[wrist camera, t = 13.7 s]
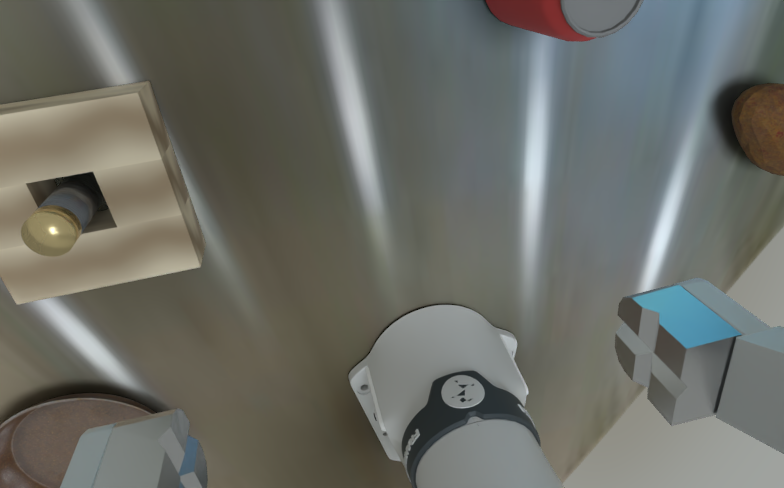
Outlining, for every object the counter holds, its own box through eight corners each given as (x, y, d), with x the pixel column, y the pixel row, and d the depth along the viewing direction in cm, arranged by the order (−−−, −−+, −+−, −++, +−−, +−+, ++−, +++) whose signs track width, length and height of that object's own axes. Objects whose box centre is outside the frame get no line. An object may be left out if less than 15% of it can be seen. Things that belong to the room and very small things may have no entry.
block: (205, 243, 45) (200, 267, 42) (36, 277, 44) (17, 304, 40) (149, 80, 38) (137, 92, 35) (-55, 113, 37) (-88, 129, 33)
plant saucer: (211, 399, 54) (208, 421, 51) (158, 508, 60) (153, 533, 57) (17, 357, 47) (2, 381, 45) (-21, 486, 53) (-36, 513, 51)
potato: (747, 55, 47) (816, 69, 42) (805, 122, 52) (874, 143, 46) (693, 118, 49) (751, 139, 43) (754, 176, 54) (814, 203, 48)
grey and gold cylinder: (116, 197, 42) (82, 251, 34) (77, 204, 42) (34, 260, 34) (102, 162, 40) (62, 210, 33) (61, 169, 40) (11, 220, 32)
